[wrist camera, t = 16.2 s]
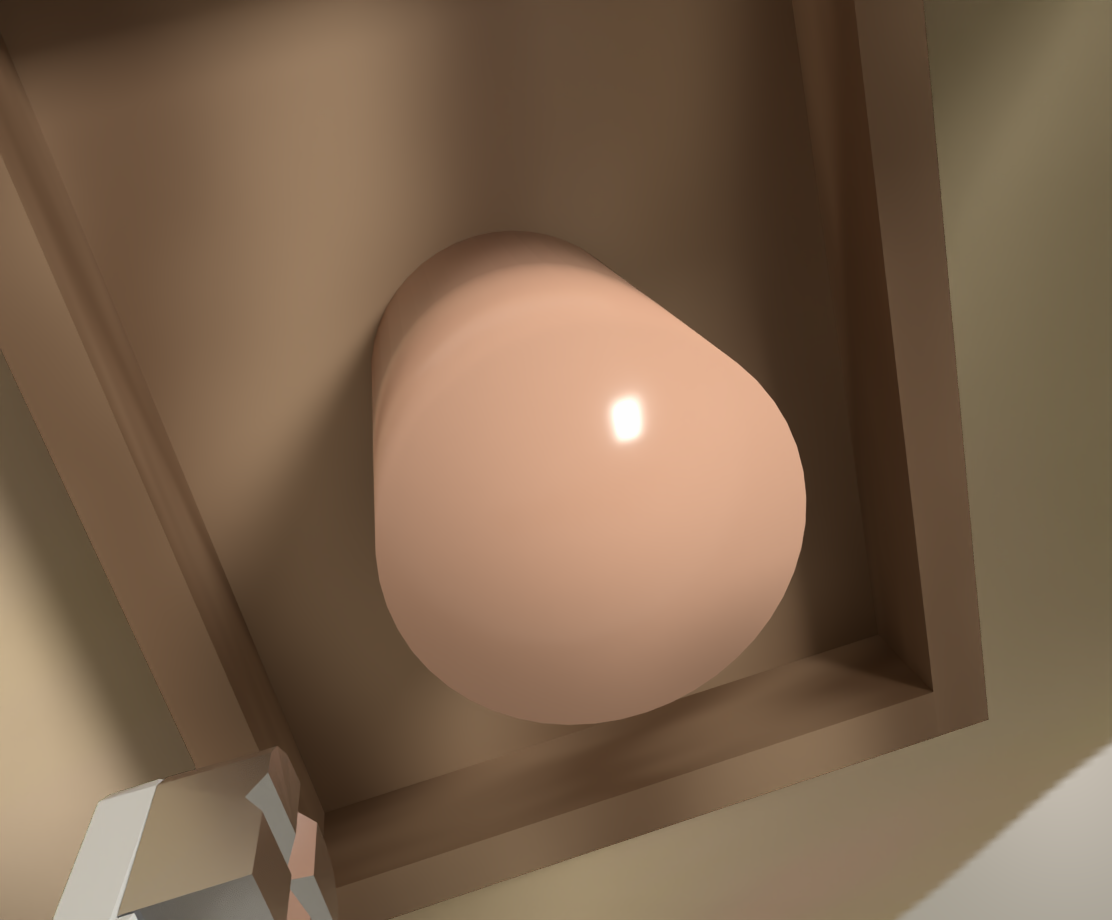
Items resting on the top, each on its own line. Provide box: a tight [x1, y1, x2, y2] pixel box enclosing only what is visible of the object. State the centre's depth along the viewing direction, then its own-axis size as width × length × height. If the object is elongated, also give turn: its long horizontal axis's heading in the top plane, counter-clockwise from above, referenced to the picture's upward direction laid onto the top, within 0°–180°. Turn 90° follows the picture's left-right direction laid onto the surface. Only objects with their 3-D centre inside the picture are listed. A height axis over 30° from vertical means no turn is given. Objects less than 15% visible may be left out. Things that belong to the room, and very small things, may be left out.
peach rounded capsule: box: [371, 231, 806, 725], centre depth 17 cm, size 6×6×8 cm
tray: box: [0, 0, 988, 920], centre depth 20 cm, size 16×20×4 cm
